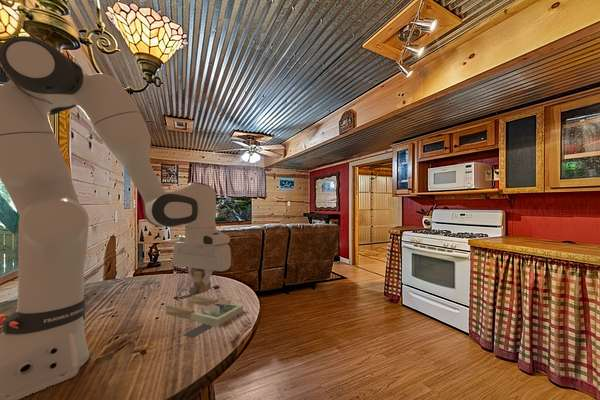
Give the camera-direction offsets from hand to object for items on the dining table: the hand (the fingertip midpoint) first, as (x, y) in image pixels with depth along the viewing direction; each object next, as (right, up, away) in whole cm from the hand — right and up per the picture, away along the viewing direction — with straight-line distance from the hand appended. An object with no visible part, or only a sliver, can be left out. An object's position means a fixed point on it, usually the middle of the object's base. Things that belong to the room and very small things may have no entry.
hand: (200, 283), depth 77 cm
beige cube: (+3, -15, +13) cm, 20 cm away
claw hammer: (-13, -16, +34) cm, 40 cm away
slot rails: (-9, -15, +15) cm, 23 cm away
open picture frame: (+2, -15, +11) cm, 18 cm away
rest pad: (0, -14, -1) cm, 14 cm away
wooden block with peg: (0, -3, 0) cm, 3 cm away
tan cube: (0, -15, +8) cm, 17 cm away
